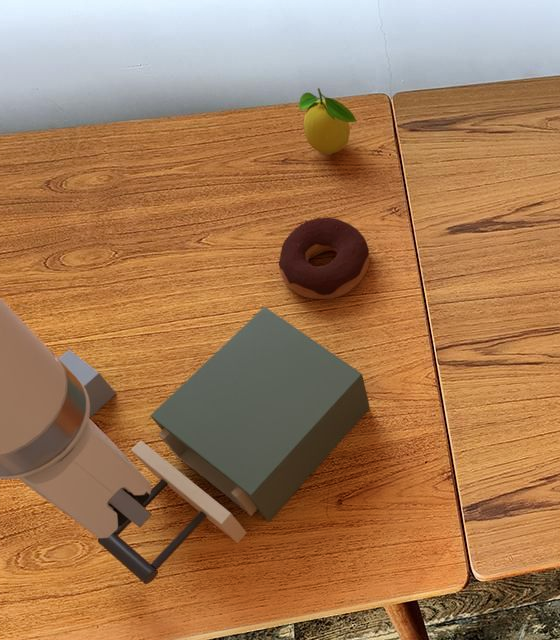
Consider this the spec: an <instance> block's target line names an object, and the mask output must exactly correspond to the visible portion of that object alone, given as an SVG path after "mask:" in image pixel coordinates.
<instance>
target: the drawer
mask: <svg viewBox="0 0 560 640" xmlns="http://www.w3.org/2000/svg"><path fill="white" fill-rule="evenodd" d="M157 435H158V437H160V439H161V440H162V441H163V442H164V443H165V444H166V446H167V447H168V448H169V450H171V452H172V454H174V455H175V457H176V458H178V459H180V461H182V462H183V463H184V464H186V465H187V466H188V468H189V467H190V469H192V470H193V471H194V472H195V473H197V475H199V476H200V477H201V478H203V479H204V480H205V481H207V482H208V483H209V484H211V486H213V487H214V488H215V489H216V490H218V491H219V492H220V493H222V494H223V495H224V496H225V497H227V498H228V499H229V500H231V502H233V503H234V504H235V505H237V506H238V507H239V508H240V509H241V510H243V511H244V512H245V513H246V514H248V515H249V516H250V517H252V516H253V515H254V514H255V513H256V510H257V507H256V506H255V505H254V503H253V502H252V500H251V499H250V498H249V496H248V495H247V493H245V492H244V491H243V490H242V489H240V488H239V487H238V486H237V485H235V484H234V483H233V482H231V481H230V480H229V479H228V478H226V477H225V476H224V475H223V474H221V473H220V472H219V471H218V470H216V469H215V468H214V467H213V466H211V465H210V464H209V463H208V462H206V461H205V460H204V459H202V458H201V457H200V456H199V455H197V454H196V453H195V452H194V451H192V450H191V449H190V448H189V447H187V446H186V445H185V444H184V443H182V442H181V441H180V440H179V439H177V438H176V437H175V436H173V435H172V434H171V433H170V432H168V431H167V430H166V429H165V428H164V429H163V430H160V431H159V432H158V434H157ZM130 451H131V453H132V454H133V455H134V456H135V457H136V458H137V460H139V461H140V462H141V463H142V464H143V465H144V466H145V467H146V468H147V470H149V472H151V473H152V475H154V476H155V477H156V478H158V479H159V481H158V482H157V484H155V486H153V487H152V488H151V493H150V497H149V498H148V500H147V501H146V502H145V503H144V506H143V507H144V508H145V509H147V507H148V506H149V505H150V504H151V503H152V502H153V501H154V500H155V499H156V498H157V497H158V496H159V495H160V494H161V493H162V492H163V491H164V490H165V488H166V487H169V488H170V489H171V490H172V491H173V492H175V493H176V495H178V496H180V498H182V499H183V500H184V501H186V502H187V503H188V505H191V506H192V507H193V508H194V509H195V510H197V511H198V513H197V514H196V515H195V516H194V518H192V520H190V522H189V523H188V524H187V525H186V526H185V527H184V528H183V529H182V531H180V532H179V533H178V534H177V535H176V537H175V538H174V539H173V540H172V541H171V542H170V543H169V544H168V545H167V546H166V547H165V548H164V549H163V551H162V552H160V554H159V555H157V557H156V558H155V559H154V560H153V561H152V562H151V563H150V562H149V561H147V559H145V558H144V557H143V556H142V555H141V554H139V552H137V551H136V550H135V549H134V548H133V547H132V546H131V545H129V544H128V543H127V542H126V541H125V540H124V539H122V538H121V536H119V535H121V533H122V532H123V531H124V530H125V529H126V528H127V527H128V526H129V525H130V524H131V523H133V522H132V521H131V520H127V521H126V522H125V523H124V524H123V525H122V526H118V528H117V530H116V531H115V532H114V533H112V534H111V535H110V536H109V537H108V538H98V539H97V543H98V544H99V545H100V546H102V547H103V548H104V549H105V550H106V551H107V553H110V555H111V556H113V558H115V559H116V560H117V561H118V562H120V564H121V565H122V566H124V567H125V568H126V569H127V570H128V571H130V572H131V574H133V575H134V576H135V577H136V578H138V579H139V580H140V581H141V583H143V584H144V585H148V584H150V583H152V582H153V581H154V580H155V579H156V577H157V576H158V574H159V571H158V570H159V569H160V568H161V566H163V564H164V563H165V562H166V561H168V559H169V558H170V557H171V556H172V555H173V554H174V552H176V550H177V549H179V547H180V546H181V545H182V544H183V543H184V542H185V541H186V540H187V538H189V537H190V536H191V534H192V533H193V532H194V531H195V530H196V529H197V528H198V527H199V526H200V525H201V524H202V522H204V521H205V519H208V520H209V522H211V523H212V524H214V525H215V526H216V527H217V528H218V529H219V530H221V532H223V533H224V534H225V535H227V536H228V537H229V538H230V539H231V540H232V541H234V542H235V543H236V544H238V543H240V541H241V540H243V538H244V537H245V536H246V535H247V533H248V532H247V530H245V528H244V527H243V526H242V524H241V523H240V522H239V521H238V520H237V518H236V517H235V516H234V515H233V514H232V513H231V511H229V510H228V509H227V508H225V507H224V506H223V505H222V504H220V502H218V501H217V500H215V499H214V498H213V497H212V496H210V495H209V494H208V493H207V492H206V491H204V490H203V489H202V488H201V487H199V486H198V485H197V484H196V483H194V481H192V480H191V479H190V478H188V477H187V476H186V475H185V474H184V473H182V472H181V471H180V470H179V469H177V468H176V467H175V466H174V465H172V464H171V463H170V462H169V461H167V460H166V459H165V458H164V457H163V456H161V455H160V454H159V453H158V452H156V451H155V450H154V449H153V448H152V447H150V446H149V445H148V444H147V443H145V442H144V441H143V440H139V441H138V442H137V443H136V444H135V445H134V446H133V447H132V448H131V449H130Z"/></svg>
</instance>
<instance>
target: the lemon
mask: <svg viewBox="0 0 560 640" xmlns="http://www.w3.org/2000/svg"><path fill="white" fill-rule="evenodd" d="M317 92H318V96H319V97H317V96H316V95H315V94H313V93H311V92H305V93H302V95H301V96H300V99H299V102H298V106H297V107H298V109H299V110H300V111H305V110H306V111H305V114H304V118H303V132H304V136H305V139H306V141H307V142H308V144H309V145H310V146H311V148H312V149H314V150H315V151H316V152H319V153H322V154H324V155H333V154H336V153H339V152H340V151H342V150H343V149H344V148H345V147H346V145H347V144H348V142H349V140H350V139H349V138H350V134H351V128H350V124H349V123H357V121H358V120H357V119H356V117H355V115H354V114H353V112H352V111H351V110H350V109H349V108H348V107H347V106H345V105H344V104H343V103H342V102H339V101H338V100H336V99H334V98H331V97H328V96H327V97H326V96H325V95H323V93H322V92H321V88H319V87H317ZM323 98H324V99H323Z"/></svg>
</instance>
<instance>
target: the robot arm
mask: <svg viewBox="0 0 560 640" xmlns="http://www.w3.org/2000/svg"><path fill="white" fill-rule="evenodd" d="M58 358H59V357H57V356H56V354H54V352H52V350H51V349H50V348H49V347H48V346H47V345H46V344H45V343H44V342H43V341H42V340H41V339H40V337H39V336H38V335H36V334H35V333H34V331H33V330H32V329H31V328H30V327H29V326H28V325H27V324H26V323H25V322H24V321H23V320H22V319H21V318H20V316H19V315H18V314H16V312H14V310H13V309H12V308H11V307H10V306H9V305H8V304H7V303H6V302H5V301H4V300H3V299H2V298H1V297H0V480H16V479H18V480H19V481H21V482H22V483H23V484H24V485H26V486H27V487H28V488H30V490H32V491H34V492H35V493H36V494H37V495H39V496H40V497H42V498H43V499H44V500H46V501H47V502H49V503H50V504H51V505H53V506H54V507H55V508H57V509H58V510H59V511H61V512H63V513H64V514H65V515H67V517H69V518H71V519H72V520H73V521H75V522H76V523H78V525H80V526H82V527H83V528H84V529H86V530H87V531H88V532H89V533H91V534H92V535H94V536H95V537H96V538H108V537H109V536H110V535H111V534H112V533H114V532H115V531H116V530H117V528H118V526H122V525H123V524H124V523H125V522H126V521H127V520H131V521H132V522H131V523H133V524H134V525H135V526H137V527H138V528H142V527H143V525H144V524H145V523H146V522H147V521H148V520H149V519H150V518H151V517H152V516H153V513H151V512H150V511H149V510H148V509H147V508H144V507H143V506H144V503H145V502H146V501H147V500H148V498H149V497H150V493H151V490H152V484H151V483H150V481H149V480H148V479H147V478H146V477H145V475H143V473H142V472H141V471H140V470H139V469H138V468H137V467H136V465H134V463H133V462H132V460H130V459H129V458H128V457H127V456H126V454H125V453H124V452H122V450H121V449H120V447H118V446H117V445H116V444H115V443H114V441H112V439H110V438H109V437H108V436H107V435H106V434H105V433H104V432H103V430H101V429H100V428H99V427H98V426H97V425H96V424H95V423H94V422H93V420H91V419H90V418H89V413H90V402H89V396H88V394H87V391H86V389H85V387H84V386H83V384H82V383H81V382H80V381H79V380H78V379H77V378H76V377H75V375H74V374H73V373H72V372H71V371H70V370H69V369H68V368H67V367H66V366H65V365H64V364H63V363H62V362H61V361H60V360H59V359H58Z"/></svg>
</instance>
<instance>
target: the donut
mask: <svg viewBox="0 0 560 640" xmlns="http://www.w3.org/2000/svg"><path fill="white" fill-rule="evenodd" d="M329 251H330V252H335V253H336V255H335V257H334V258H333V259H332V260H331V261H330V262H328V263H326V264H325V265H319V266H317V265H316V266H315V265H313V264H311V263H310V261H309V260H310V259H312V258H313V257H315V256H317V255H320V254H322V253H325V252H329ZM369 265H370V249H369V245H368V242H367V241H366V239H365V237H364V235H362V233H361V232H360V231H359V229H357V228H356V227H355V226H353V225H352V224H350V223H348V222H346V221H343V220H341V219H338V218H334V217H329V216H328V217H319V218H314V219H309V220H306V221H304V222H303V223H302V224H300V225H298V226H297V227H296V228H295V229H293V230H292V231H291V232H290V234H289V235H288V236H287V237H286V239H285V240H284V242H283V243H282V244H281V250H280V256H279V260H278V267H279V272H280V276H281V279H282V281H283V282H284V284H285V285H286V286H287V287H288V289H290V290H291V291H293V292H294V293H295V294H298V295H299V296H300V297H301V296H302V297H305V298H308V299H315V300H327V299H336V298H338V297H339V298H340V297H343V296H344V295H346V294H347V293H349V292H350V291H352V290H353V289H354V288H355V287H356V286H357V285H358V284H359V283H360V282H361V281H362V280H363V279H364V276H365V275H366V274H367V272H368V269H369Z"/></svg>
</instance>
